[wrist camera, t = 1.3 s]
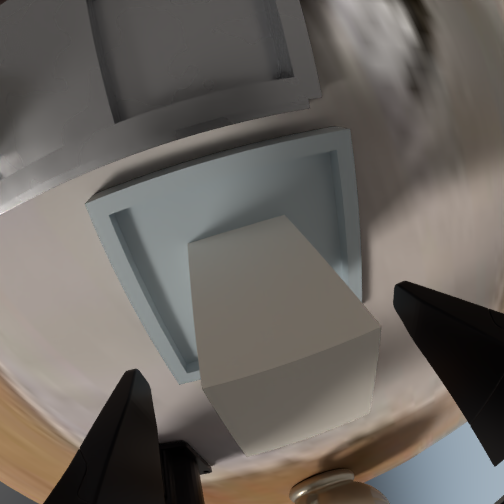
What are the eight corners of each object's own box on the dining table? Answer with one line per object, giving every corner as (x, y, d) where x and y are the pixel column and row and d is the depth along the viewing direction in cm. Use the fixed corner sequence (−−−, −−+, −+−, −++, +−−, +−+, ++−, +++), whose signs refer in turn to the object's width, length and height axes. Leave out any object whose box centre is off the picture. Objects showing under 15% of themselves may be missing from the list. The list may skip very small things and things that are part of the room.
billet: (298, 293, 14) (369, 413, 8) (215, 319, 14) (247, 457, 8) (284, 214, 12) (381, 326, 6) (187, 243, 12) (201, 388, 6)
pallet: (299, 107, 11) (324, 109, 9) (-45, 240, 9) (-67, 261, 7) (255, -60, 7) (270, -85, 5) (-83, 100, 5) (-110, 106, 4)
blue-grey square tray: (351, 312, 16) (361, 325, 15) (178, 368, 15) (179, 384, 14) (335, 126, 11) (350, 128, 10) (93, 194, 11) (85, 203, 10)
